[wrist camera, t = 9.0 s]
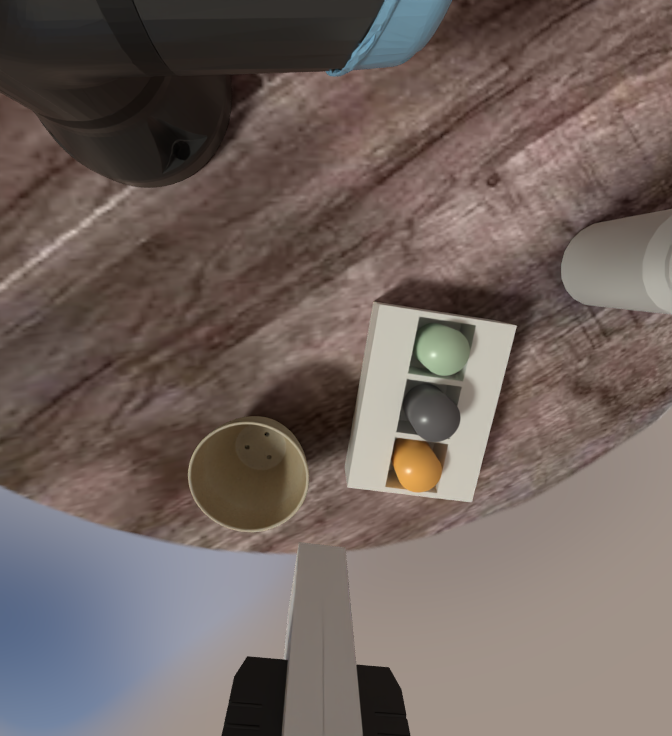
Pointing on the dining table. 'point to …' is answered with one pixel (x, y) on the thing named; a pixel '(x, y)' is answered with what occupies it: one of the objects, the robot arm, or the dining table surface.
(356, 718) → the robot arm
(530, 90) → the dining table surface
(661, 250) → the can
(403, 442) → the orange rounded piece
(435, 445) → the white compartment box
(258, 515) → the flower pot
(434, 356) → the green button
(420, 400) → the black button
